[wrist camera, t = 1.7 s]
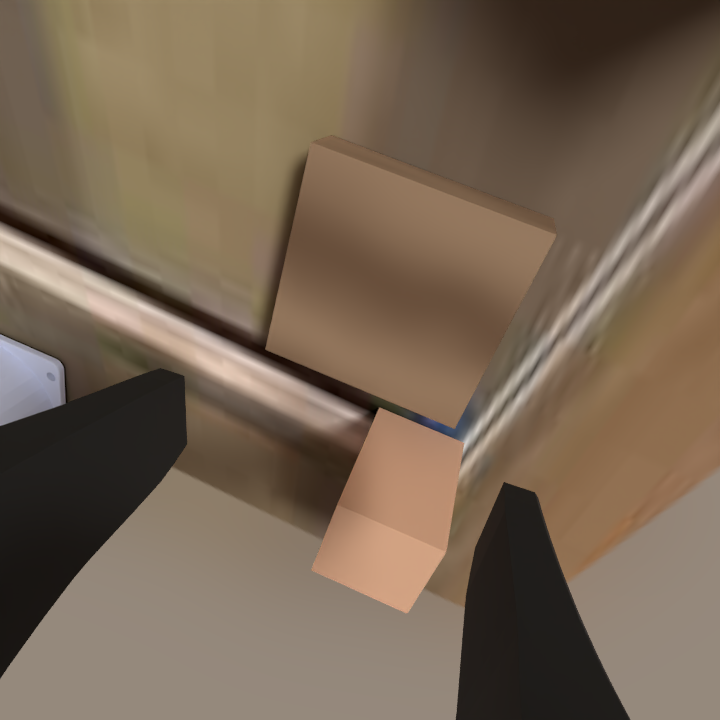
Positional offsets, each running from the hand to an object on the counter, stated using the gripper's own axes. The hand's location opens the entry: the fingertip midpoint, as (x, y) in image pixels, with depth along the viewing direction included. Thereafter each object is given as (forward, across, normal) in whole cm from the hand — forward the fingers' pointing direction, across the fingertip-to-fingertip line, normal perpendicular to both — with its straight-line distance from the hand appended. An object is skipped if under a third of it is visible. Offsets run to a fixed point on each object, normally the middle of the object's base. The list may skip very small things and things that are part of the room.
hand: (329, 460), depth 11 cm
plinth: (+10, +1, 0) cm, 10 cm away
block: (+10, -1, +8) cm, 13 cm away
